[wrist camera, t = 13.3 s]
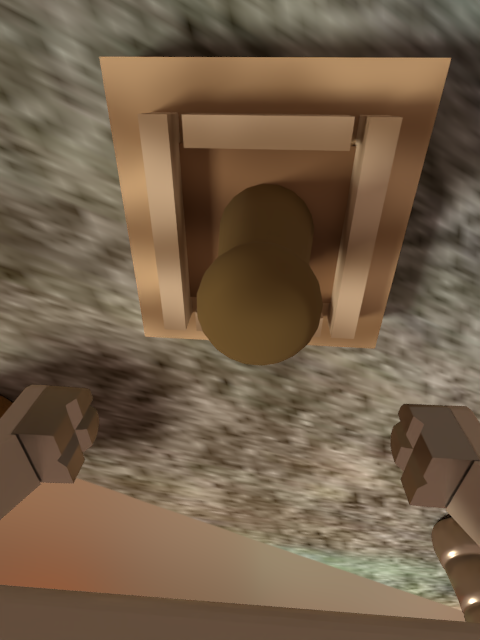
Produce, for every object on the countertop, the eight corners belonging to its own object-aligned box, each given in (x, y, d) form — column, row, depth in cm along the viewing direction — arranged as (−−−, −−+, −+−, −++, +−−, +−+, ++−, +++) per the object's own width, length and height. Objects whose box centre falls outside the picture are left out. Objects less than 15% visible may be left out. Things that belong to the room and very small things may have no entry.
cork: (314, 178, 21) (342, 245, 11) (314, 273, 24) (336, 386, 14) (212, 188, 21) (161, 258, 12) (225, 279, 25) (192, 389, 15)
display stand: (125, 63, 22) (77, 51, 17) (422, 64, 21) (475, 52, 15) (158, 310, 32) (135, 355, 26) (363, 320, 31) (383, 369, 25)
